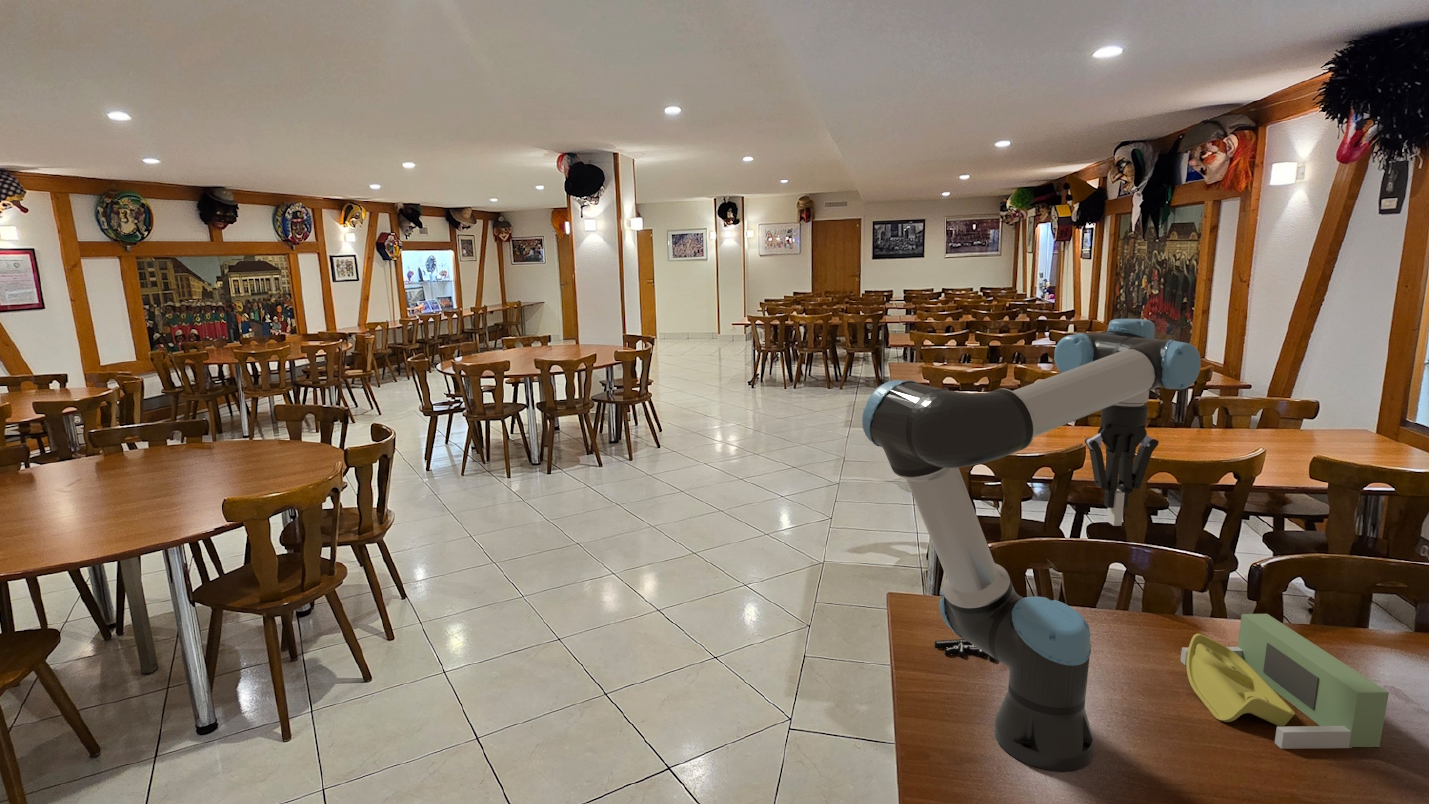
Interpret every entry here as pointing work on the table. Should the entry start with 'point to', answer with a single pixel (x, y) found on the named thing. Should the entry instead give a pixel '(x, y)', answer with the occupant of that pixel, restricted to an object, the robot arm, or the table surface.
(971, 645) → the nameplate
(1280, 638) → the green sign stand
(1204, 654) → the plastic component
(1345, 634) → the table surface
